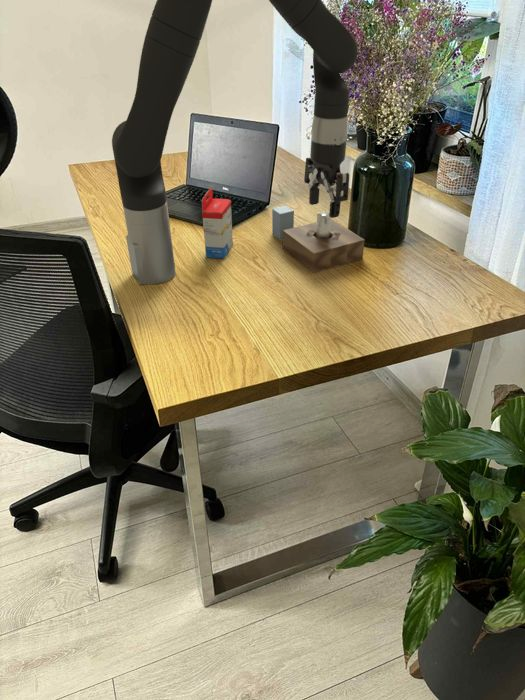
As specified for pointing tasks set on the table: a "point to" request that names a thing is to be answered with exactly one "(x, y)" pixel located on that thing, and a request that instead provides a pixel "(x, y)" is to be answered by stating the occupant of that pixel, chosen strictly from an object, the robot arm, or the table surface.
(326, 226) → the round bit
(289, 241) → the socket block
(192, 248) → the table surface
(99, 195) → the table surface
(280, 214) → the square bar
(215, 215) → the ink box
